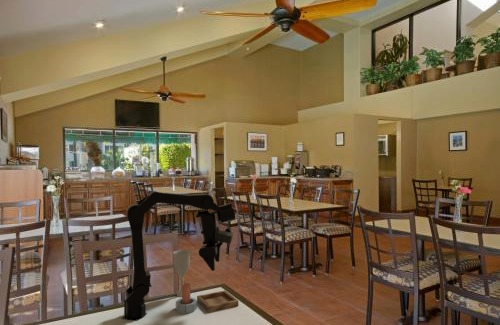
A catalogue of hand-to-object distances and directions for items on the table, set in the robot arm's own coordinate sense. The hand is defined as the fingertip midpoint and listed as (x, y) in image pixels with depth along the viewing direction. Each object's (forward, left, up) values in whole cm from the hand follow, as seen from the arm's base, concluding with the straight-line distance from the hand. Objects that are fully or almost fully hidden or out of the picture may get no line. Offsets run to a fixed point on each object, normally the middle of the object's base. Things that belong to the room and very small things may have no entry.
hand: (215, 265), depth 130 cm
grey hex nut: (-8, -8, -15) cm, 19 cm away
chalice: (-16, +4, -15) cm, 22 cm away
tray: (+1, 0, -15) cm, 15 cm away
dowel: (-8, -8, -14) cm, 18 cm away
